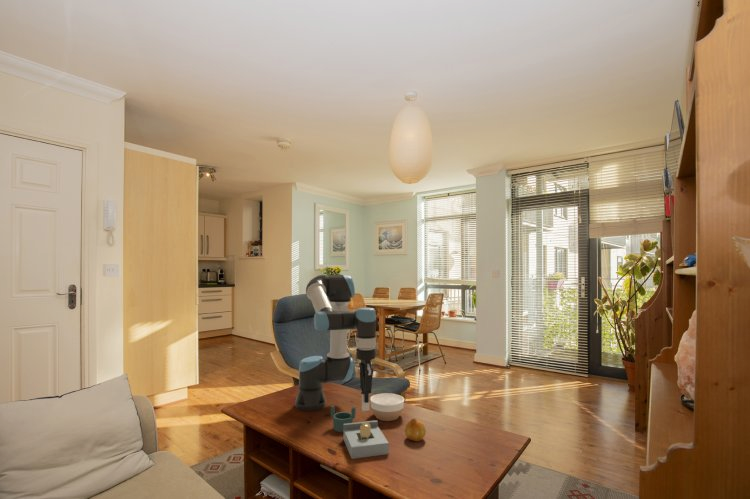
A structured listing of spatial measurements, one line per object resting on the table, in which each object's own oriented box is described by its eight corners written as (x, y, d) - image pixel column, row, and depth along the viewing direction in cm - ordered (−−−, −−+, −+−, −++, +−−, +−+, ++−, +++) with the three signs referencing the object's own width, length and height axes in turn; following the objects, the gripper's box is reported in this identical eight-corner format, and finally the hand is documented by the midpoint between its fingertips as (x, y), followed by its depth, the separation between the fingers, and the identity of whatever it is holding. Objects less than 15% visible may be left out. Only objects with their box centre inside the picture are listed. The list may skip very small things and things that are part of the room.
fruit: (398, 434, 149) (409, 418, 149) (404, 428, 157) (414, 412, 156) (415, 449, 146) (426, 432, 145) (421, 442, 154) (431, 426, 153)
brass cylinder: (358, 444, 146) (359, 423, 146) (368, 443, 147) (368, 422, 147) (361, 449, 142) (361, 427, 142) (371, 448, 143) (371, 426, 143)
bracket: (356, 429, 160) (357, 407, 160) (337, 433, 155) (337, 411, 156) (347, 421, 167) (347, 401, 168) (328, 426, 163) (328, 404, 163)
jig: (343, 439, 150) (343, 423, 150) (377, 435, 154) (377, 420, 154) (351, 458, 135) (351, 441, 135) (388, 453, 139) (388, 437, 139)
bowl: (399, 425, 164) (399, 407, 164) (364, 420, 169) (365, 402, 169) (408, 412, 179) (408, 395, 179) (376, 407, 184) (376, 391, 184)
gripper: (352, 345, 151) (352, 405, 150) (360, 352, 139) (359, 417, 138) (370, 344, 153) (370, 403, 152) (379, 351, 141) (379, 415, 140)
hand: (365, 409), depth 145 cm, fingers closed
